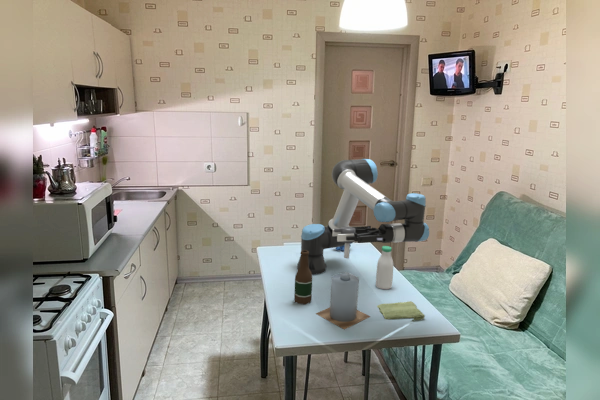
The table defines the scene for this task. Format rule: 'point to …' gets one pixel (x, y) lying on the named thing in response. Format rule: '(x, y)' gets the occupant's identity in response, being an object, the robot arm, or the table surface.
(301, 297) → the beer bottle
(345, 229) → the pump plunger
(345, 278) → the soap dispenser
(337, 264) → the table surface
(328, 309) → the walnut board
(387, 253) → the milk bottle
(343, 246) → the grapes
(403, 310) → the washcloth
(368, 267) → the table surface
